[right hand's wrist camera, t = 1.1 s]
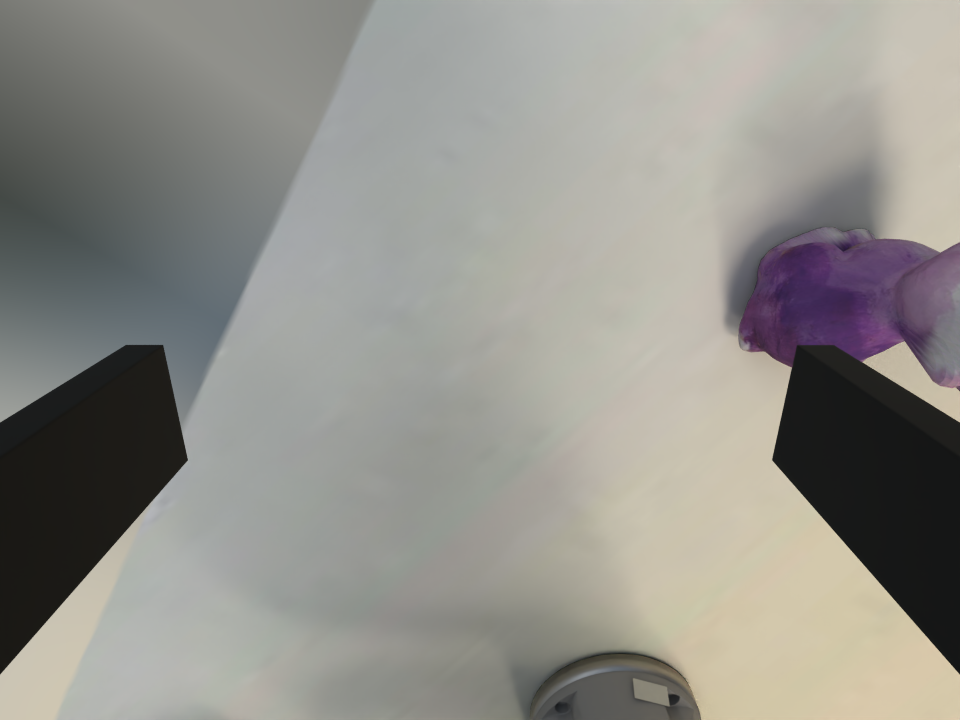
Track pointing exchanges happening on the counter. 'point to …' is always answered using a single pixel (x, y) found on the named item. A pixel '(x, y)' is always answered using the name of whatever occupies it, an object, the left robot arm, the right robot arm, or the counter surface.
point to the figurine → (857, 299)
